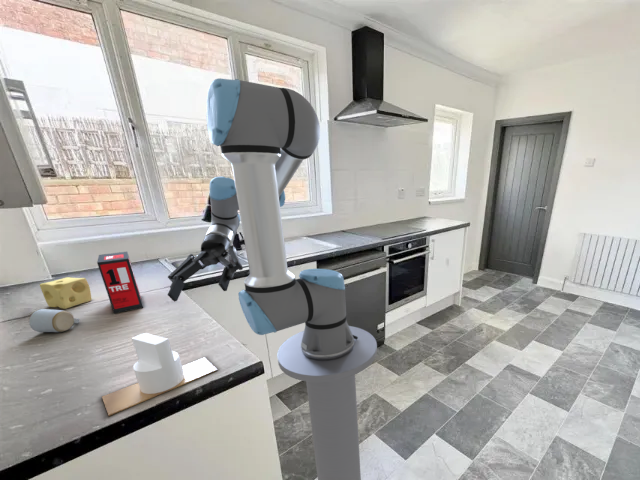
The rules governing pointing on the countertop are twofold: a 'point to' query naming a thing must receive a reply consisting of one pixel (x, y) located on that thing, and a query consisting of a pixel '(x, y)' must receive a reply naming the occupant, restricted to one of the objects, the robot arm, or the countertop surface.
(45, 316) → the ceramic mug
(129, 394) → the tan rectangular plate
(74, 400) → the countertop surface
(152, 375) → the cylinder with rectangular tab
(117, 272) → the cleaning product box
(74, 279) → the cheese
